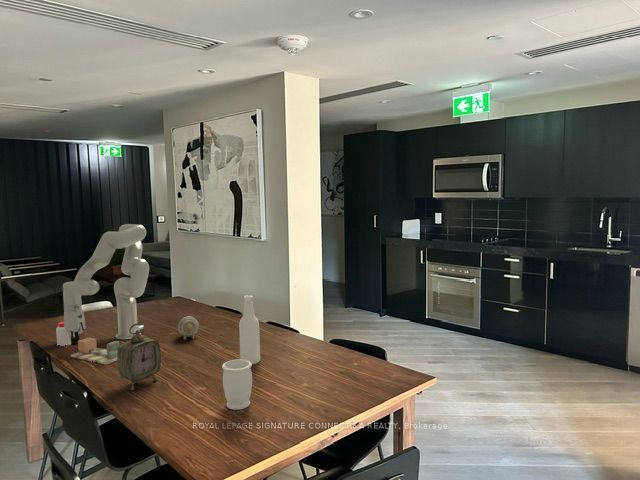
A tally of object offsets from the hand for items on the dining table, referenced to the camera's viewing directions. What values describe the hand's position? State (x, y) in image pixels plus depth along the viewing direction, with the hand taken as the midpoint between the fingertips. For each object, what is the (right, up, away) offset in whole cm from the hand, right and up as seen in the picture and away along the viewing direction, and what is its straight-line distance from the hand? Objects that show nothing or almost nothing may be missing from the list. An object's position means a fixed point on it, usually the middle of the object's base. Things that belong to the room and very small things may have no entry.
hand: (75, 344), depth 226 cm
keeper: (+8, -3, -3) cm, 9 cm away
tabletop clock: (+47, -7, -39) cm, 61 cm away
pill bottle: (-12, -3, +13) cm, 18 cm away
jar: (+89, -9, -59) cm, 107 cm away
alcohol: (+87, -4, -17) cm, 89 cm away
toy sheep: (+49, -1, +21) cm, 54 cm away
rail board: (+15, -4, -7) cm, 17 cm away
